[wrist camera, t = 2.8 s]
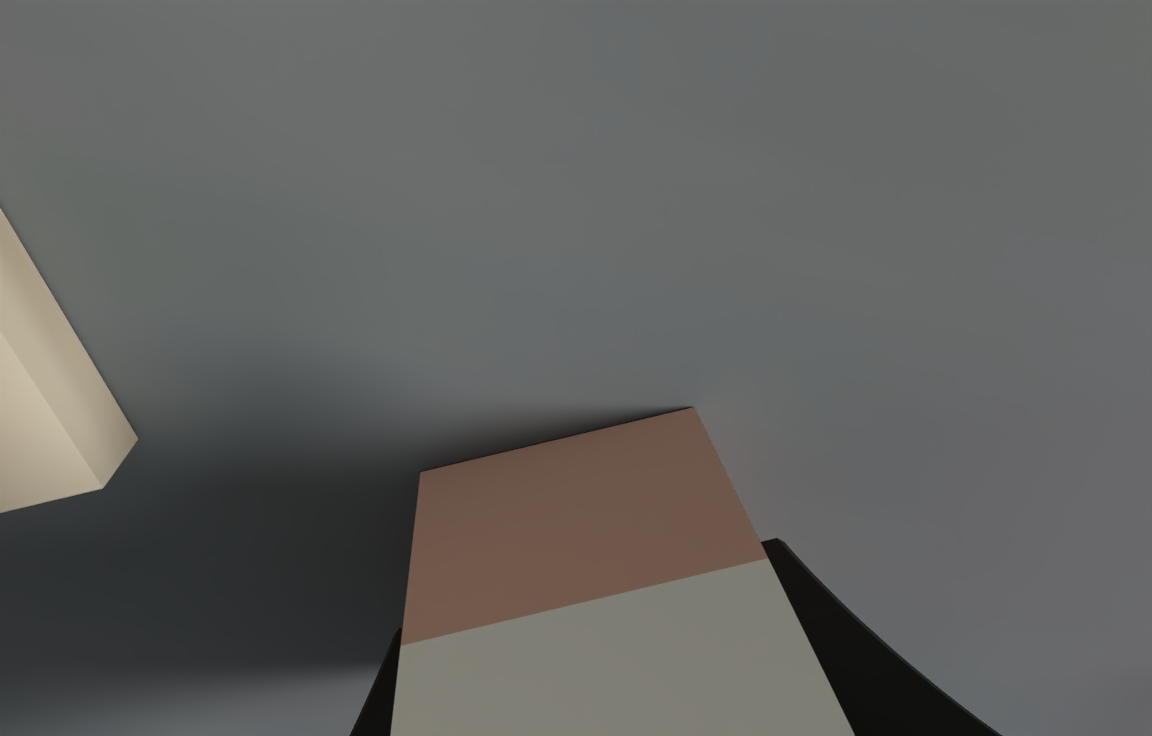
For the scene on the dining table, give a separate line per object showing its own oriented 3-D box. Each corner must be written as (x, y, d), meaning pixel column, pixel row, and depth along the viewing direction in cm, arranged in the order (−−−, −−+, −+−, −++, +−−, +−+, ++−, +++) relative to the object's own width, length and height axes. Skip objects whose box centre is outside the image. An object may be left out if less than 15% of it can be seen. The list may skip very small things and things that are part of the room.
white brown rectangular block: (492, 659, 14) (503, 1187, 8) (420, 472, 12) (360, 1000, 6) (724, 604, 14) (910, 1088, 8) (694, 407, 12) (919, 865, 6)
